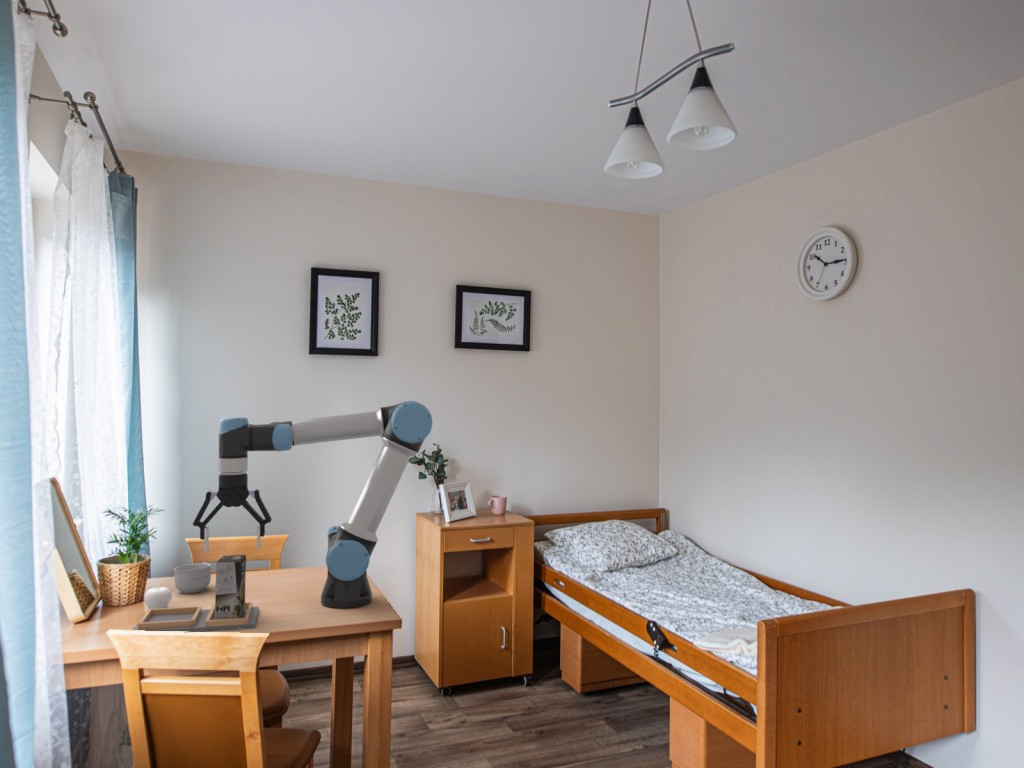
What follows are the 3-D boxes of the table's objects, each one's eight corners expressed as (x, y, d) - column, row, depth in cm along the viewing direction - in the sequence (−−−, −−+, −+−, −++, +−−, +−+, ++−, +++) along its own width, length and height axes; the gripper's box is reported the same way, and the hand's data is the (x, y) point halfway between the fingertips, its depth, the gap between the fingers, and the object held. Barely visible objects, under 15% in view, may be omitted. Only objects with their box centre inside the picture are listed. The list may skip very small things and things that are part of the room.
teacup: (193, 597, 224) (194, 571, 224) (165, 593, 227) (165, 568, 228) (224, 586, 237) (225, 561, 237) (197, 583, 241) (198, 559, 241)
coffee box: (238, 621, 197) (240, 561, 198) (213, 621, 196) (215, 561, 197) (245, 611, 206) (247, 554, 207) (221, 612, 205) (223, 554, 206)
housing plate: (258, 610, 211) (259, 601, 211) (254, 627, 195) (254, 618, 195) (145, 616, 203) (145, 607, 203) (130, 635, 187) (131, 626, 187)
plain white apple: (175, 609, 211) (176, 581, 211) (150, 615, 205) (151, 586, 205) (164, 605, 215) (165, 577, 215) (140, 610, 210) (140, 582, 210)
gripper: (280, 470, 209) (280, 544, 209) (186, 473, 202) (186, 549, 202) (279, 473, 202) (279, 550, 201) (182, 475, 195) (181, 555, 195)
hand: (232, 550), depth 202 cm, fingers open, 13 cm apart
